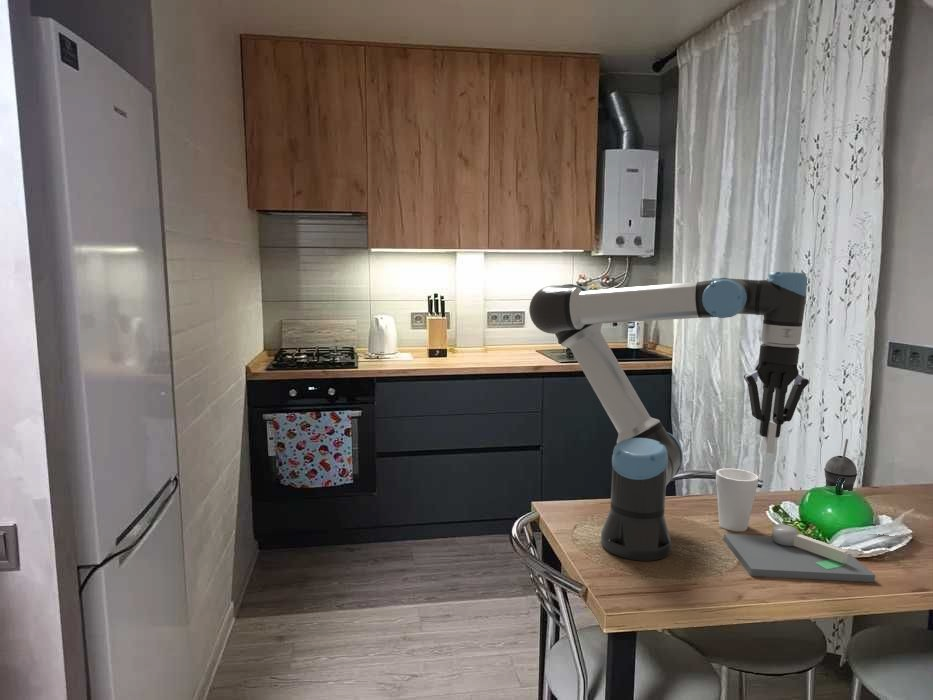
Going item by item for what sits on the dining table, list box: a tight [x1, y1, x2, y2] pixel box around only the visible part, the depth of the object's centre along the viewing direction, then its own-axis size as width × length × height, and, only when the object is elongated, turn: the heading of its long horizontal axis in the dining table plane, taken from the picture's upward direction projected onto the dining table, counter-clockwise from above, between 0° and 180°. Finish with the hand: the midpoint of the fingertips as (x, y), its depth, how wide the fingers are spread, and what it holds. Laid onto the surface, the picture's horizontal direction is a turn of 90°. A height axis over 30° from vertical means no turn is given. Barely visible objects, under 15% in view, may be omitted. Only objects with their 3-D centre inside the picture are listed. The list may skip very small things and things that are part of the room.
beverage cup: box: [823, 438, 858, 492], centre depth 157 cm, size 7×7×20 cm
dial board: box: [722, 533, 876, 583], centre depth 133 cm, size 24×17×2 cm
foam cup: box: [715, 467, 759, 532], centre depth 150 cm, size 10×9×13 cm
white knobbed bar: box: [771, 523, 849, 563], centre depth 134 cm, size 15×5×3 cm, turn 36°
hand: (767, 451), depth 135 cm, fingers closed
